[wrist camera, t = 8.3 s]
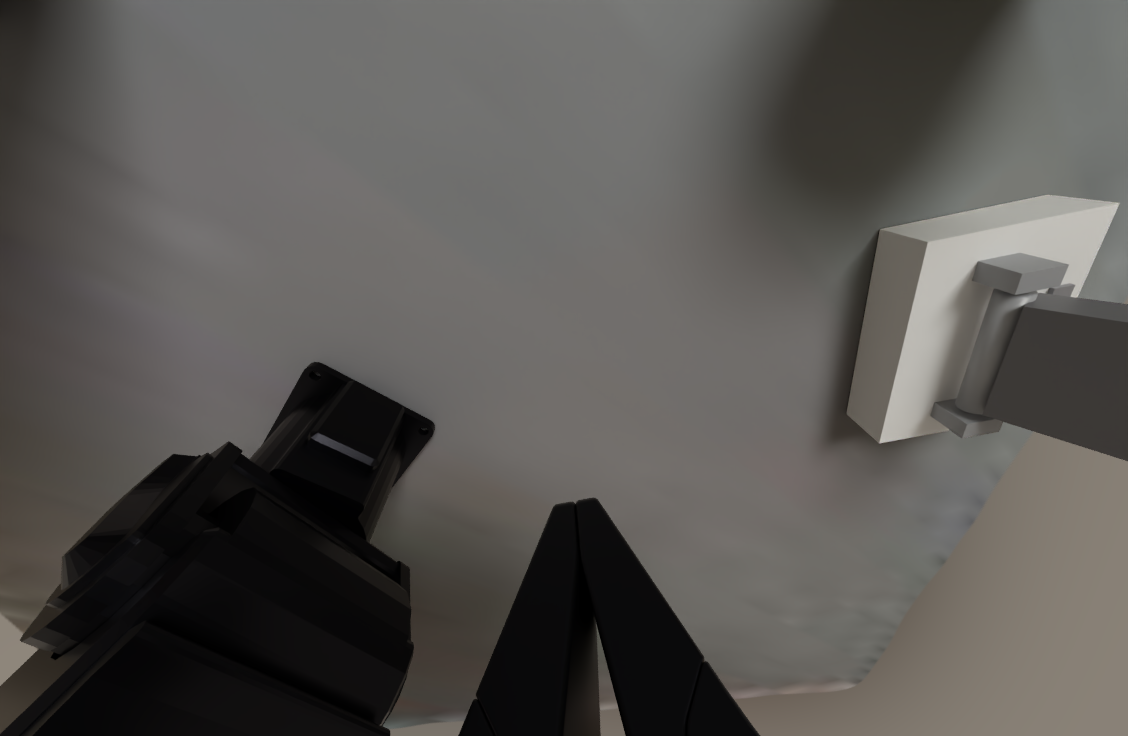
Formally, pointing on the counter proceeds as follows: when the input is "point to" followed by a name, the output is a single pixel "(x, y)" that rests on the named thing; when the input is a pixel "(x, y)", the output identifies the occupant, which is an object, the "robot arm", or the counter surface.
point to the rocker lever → (1053, 368)
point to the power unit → (958, 304)
